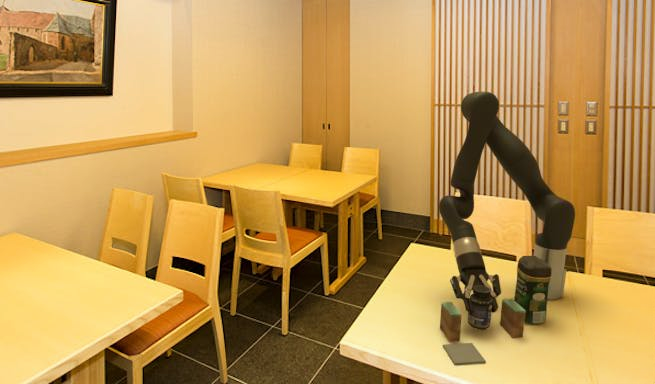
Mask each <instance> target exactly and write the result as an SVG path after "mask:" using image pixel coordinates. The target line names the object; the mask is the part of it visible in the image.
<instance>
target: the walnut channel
mask: <svg viewBox="0 0 655 384" xmlns="http://www.w3.org/2000/svg"><path fill="white" fill-rule="evenodd" d="M500 309H501V310H500V318H499V319H500V320H499V325H500V326H501V328H502V329H503V330H504V331H505V332H506V333H507V334H508V335H509V336H510V337H511V339H515V338H516V339H517V338H523V336H524V331H525V323H524V322H525V314H526V311H525V310H524V309H523V308H522V307H521V306H520V305H519V304H518V303H517V302H515V301H514V298H504V299H501V308H500ZM462 317H463V314H462V313H461V311H460V310H459V308H457V306H456V305H455V304H454V303H453V302H452V301H441V304H440V318H439V319H440V322H439V329H440V331H441V332H442V334H443V335H444V336H445V338H446V340H447V341H448V342H449V343H450V342H460V341H461V340H460V339H461V331H462V319H463V318H462Z"/></svg>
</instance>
